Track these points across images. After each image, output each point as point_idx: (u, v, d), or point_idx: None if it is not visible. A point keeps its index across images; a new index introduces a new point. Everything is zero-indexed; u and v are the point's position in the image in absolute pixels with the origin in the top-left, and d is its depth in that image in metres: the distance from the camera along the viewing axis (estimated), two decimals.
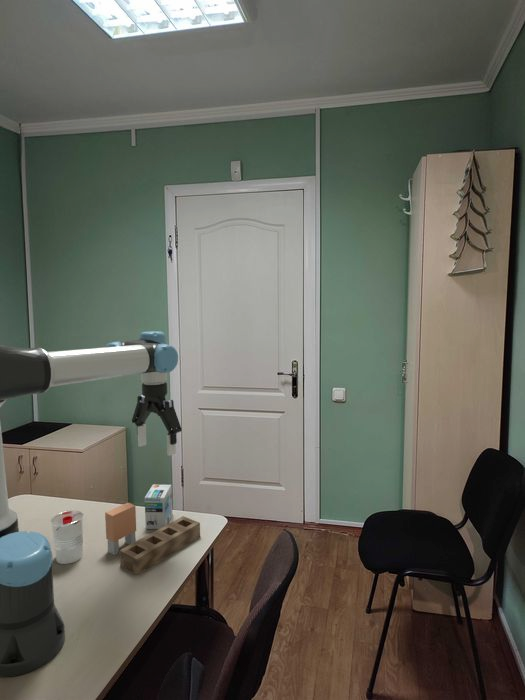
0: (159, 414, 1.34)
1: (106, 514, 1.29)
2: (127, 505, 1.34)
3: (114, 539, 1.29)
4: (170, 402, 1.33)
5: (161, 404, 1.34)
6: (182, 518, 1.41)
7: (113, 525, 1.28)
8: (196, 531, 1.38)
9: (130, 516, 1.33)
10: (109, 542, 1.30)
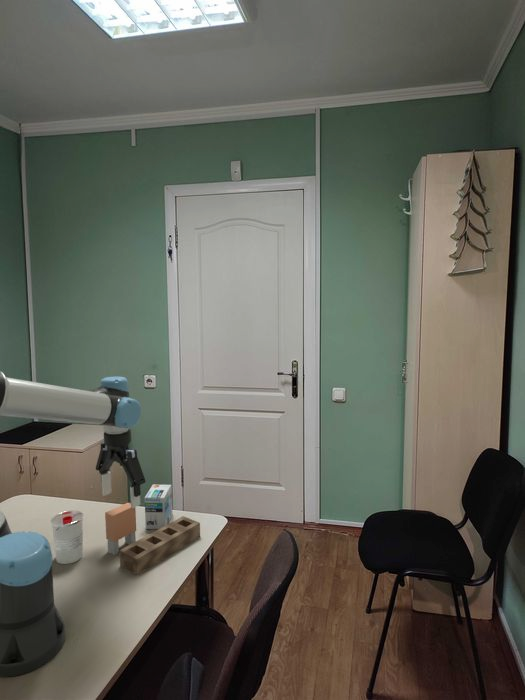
0: (122, 464, 1.27)
1: (106, 514, 1.29)
2: (127, 505, 1.34)
3: (114, 539, 1.29)
4: (133, 452, 1.26)
5: (124, 454, 1.27)
6: (182, 518, 1.41)
7: (113, 525, 1.28)
8: (196, 531, 1.38)
9: (130, 516, 1.33)
10: (109, 542, 1.30)
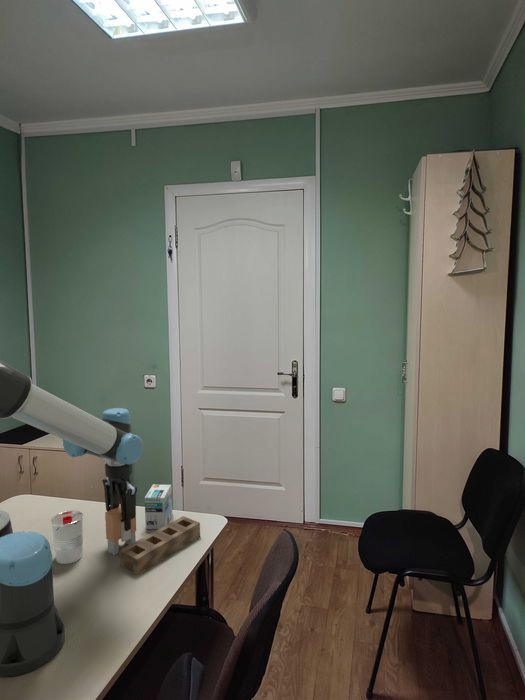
0: (119, 497, 1.29)
1: (106, 514, 1.29)
2: None
3: (114, 539, 1.29)
4: (133, 491, 1.27)
5: (124, 487, 1.28)
6: (182, 518, 1.41)
7: (113, 525, 1.28)
8: (196, 531, 1.38)
9: None
10: (109, 542, 1.30)
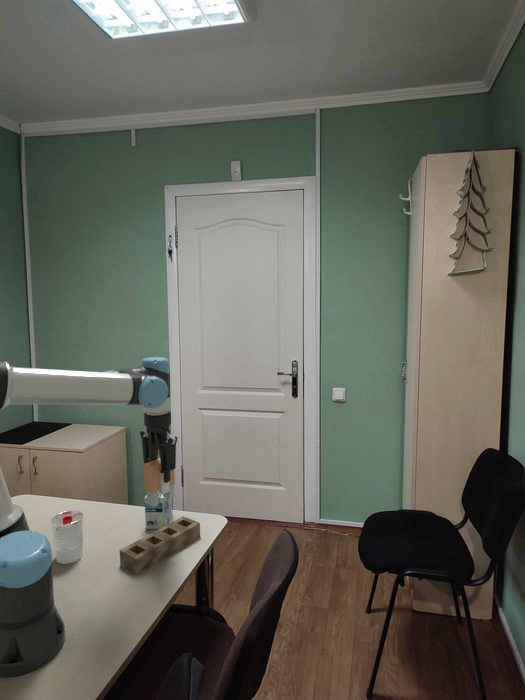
0: (159, 448, 1.26)
1: (145, 465, 1.26)
2: None
3: (154, 491, 1.26)
4: (174, 440, 1.24)
5: (164, 437, 1.25)
6: (182, 518, 1.41)
7: (153, 476, 1.25)
8: (196, 531, 1.38)
9: None
10: (148, 494, 1.27)
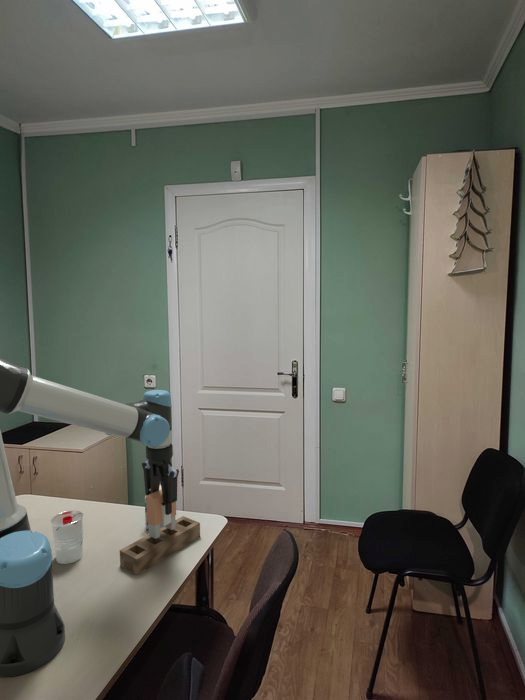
0: (160, 480, 1.27)
1: (147, 497, 1.27)
2: None
3: (156, 523, 1.27)
4: (175, 473, 1.25)
5: (166, 470, 1.26)
6: (182, 518, 1.41)
7: (155, 509, 1.26)
8: (196, 531, 1.38)
9: None
10: (150, 526, 1.28)
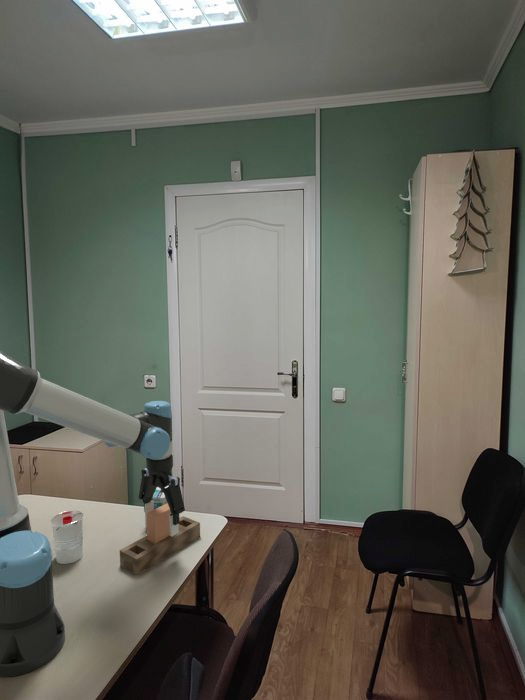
0: (163, 491, 1.26)
1: (147, 515, 1.28)
2: None
3: (156, 540, 1.27)
4: (176, 480, 1.25)
5: (166, 480, 1.26)
6: (182, 518, 1.41)
7: (155, 526, 1.27)
8: (196, 531, 1.38)
9: None
10: None
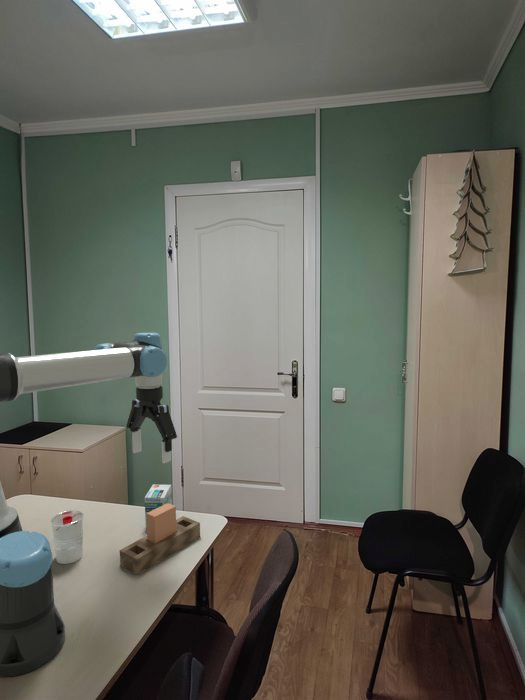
0: (154, 419, 1.27)
1: (147, 515, 1.28)
2: (168, 505, 1.33)
3: (156, 540, 1.27)
4: (165, 407, 1.26)
5: (156, 409, 1.27)
6: (182, 518, 1.41)
7: (155, 526, 1.27)
8: (196, 531, 1.38)
9: (171, 516, 1.31)
10: None
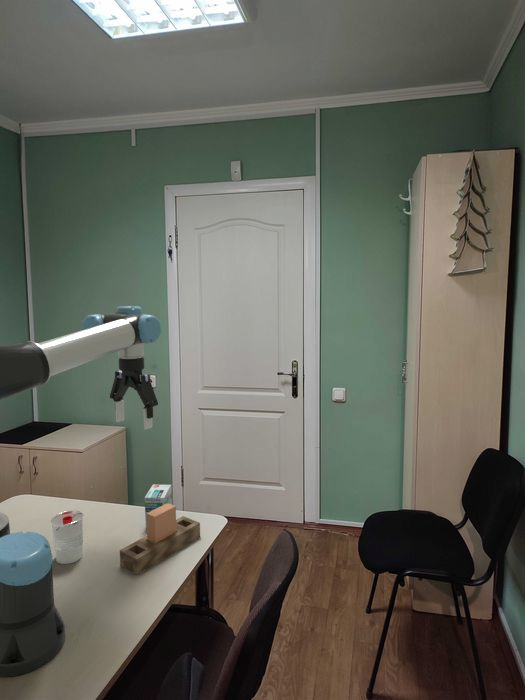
0: (136, 388, 1.34)
1: (147, 515, 1.28)
2: (168, 505, 1.33)
3: (156, 540, 1.27)
4: (146, 376, 1.33)
5: (138, 378, 1.34)
6: (182, 518, 1.41)
7: (155, 526, 1.27)
8: (196, 531, 1.38)
9: (171, 516, 1.31)
10: None
